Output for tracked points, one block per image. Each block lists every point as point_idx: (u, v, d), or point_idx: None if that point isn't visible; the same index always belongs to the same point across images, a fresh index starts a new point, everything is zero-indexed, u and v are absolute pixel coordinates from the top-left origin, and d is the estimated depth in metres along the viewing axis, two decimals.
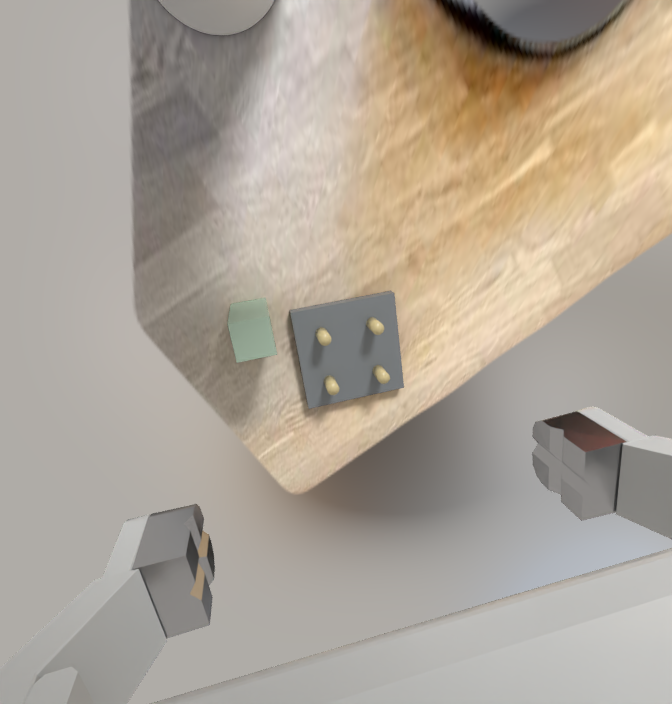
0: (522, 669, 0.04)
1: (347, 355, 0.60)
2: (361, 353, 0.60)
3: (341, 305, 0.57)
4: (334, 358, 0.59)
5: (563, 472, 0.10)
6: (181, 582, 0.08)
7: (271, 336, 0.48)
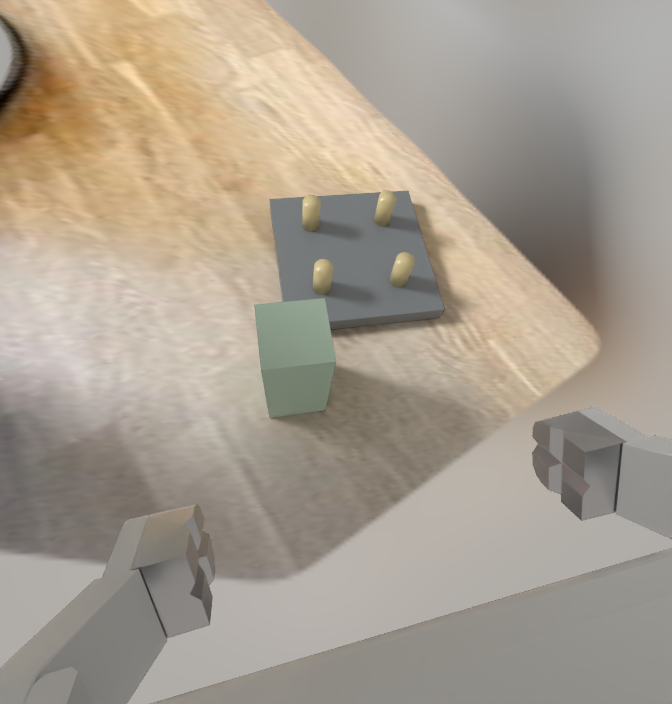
0: (522, 669, 0.04)
1: (358, 255, 0.40)
2: (356, 238, 0.41)
3: (281, 260, 0.39)
4: (362, 271, 0.40)
5: (563, 472, 0.10)
6: (181, 582, 0.08)
7: (291, 303, 0.28)
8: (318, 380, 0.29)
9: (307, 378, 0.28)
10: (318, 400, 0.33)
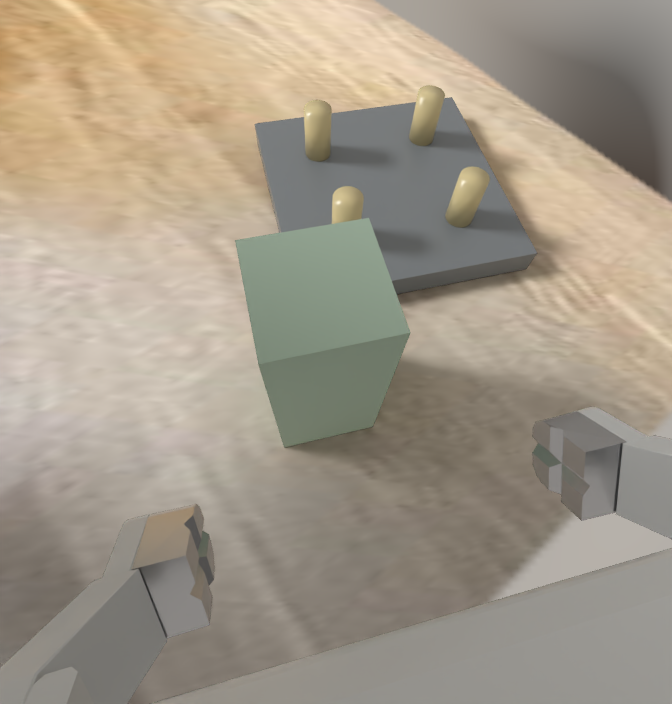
0: (522, 669, 0.04)
1: (393, 188, 0.27)
2: (387, 164, 0.28)
3: (280, 204, 0.26)
4: (404, 209, 0.26)
5: (563, 472, 0.10)
6: (181, 582, 0.08)
7: (306, 233, 0.14)
8: (369, 376, 0.15)
9: (351, 375, 0.15)
10: (363, 412, 0.19)
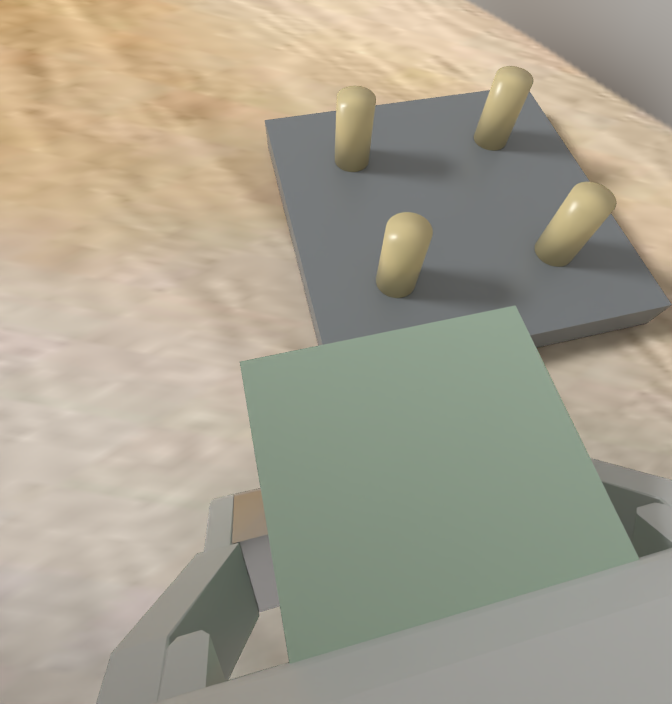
0: (522, 669, 0.04)
1: (458, 209, 0.19)
2: (447, 176, 0.20)
3: (301, 233, 0.18)
4: (476, 240, 0.19)
5: None
6: None
7: (391, 342, 0.07)
8: None
9: None
10: None
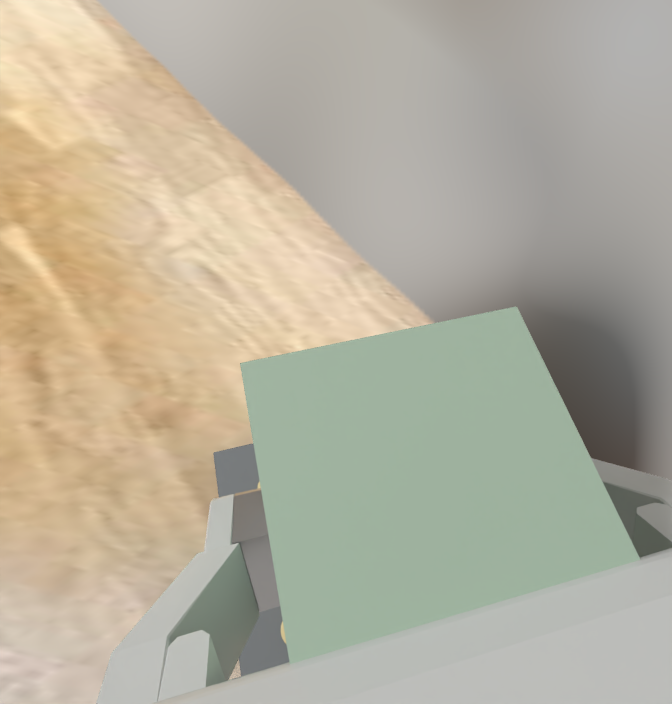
0: (522, 669, 0.04)
1: None
2: None
3: None
4: None
5: None
6: None
7: (391, 344, 0.07)
8: None
9: None
10: None
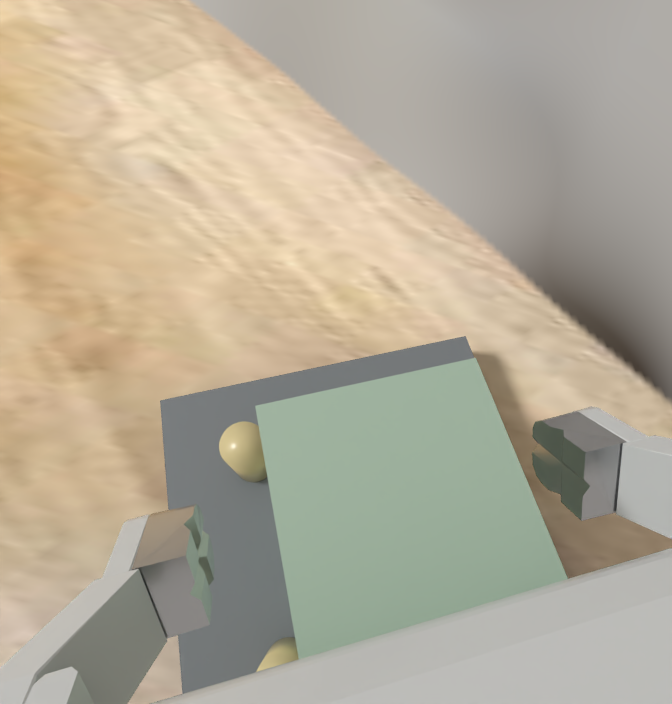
0: (522, 669, 0.04)
1: None
2: None
3: None
4: None
5: (563, 472, 0.10)
6: (181, 582, 0.08)
7: (375, 389, 0.08)
8: None
9: None
10: None
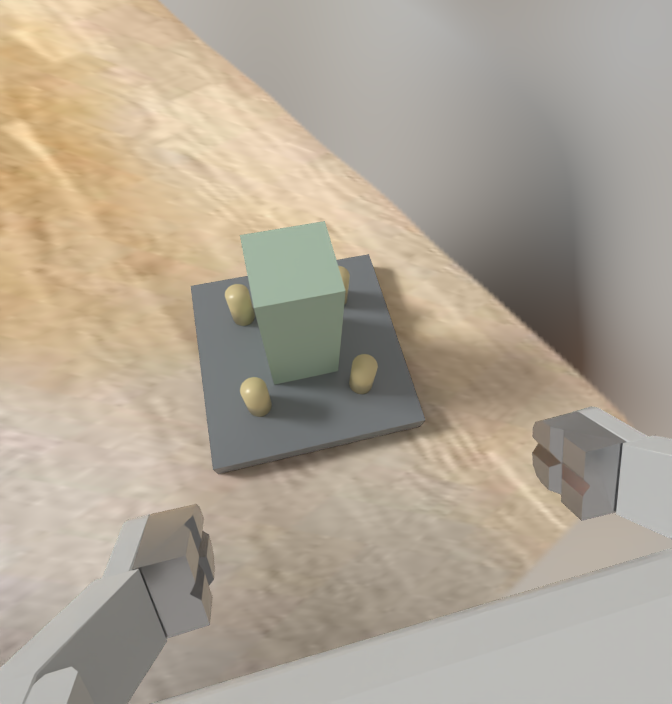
0: (522, 669, 0.04)
1: None
2: None
3: (206, 371, 0.30)
4: (313, 376, 0.30)
5: (563, 472, 0.10)
6: (181, 582, 0.08)
7: (284, 230, 0.23)
8: (326, 322, 0.24)
9: (313, 321, 0.23)
10: (328, 355, 0.28)
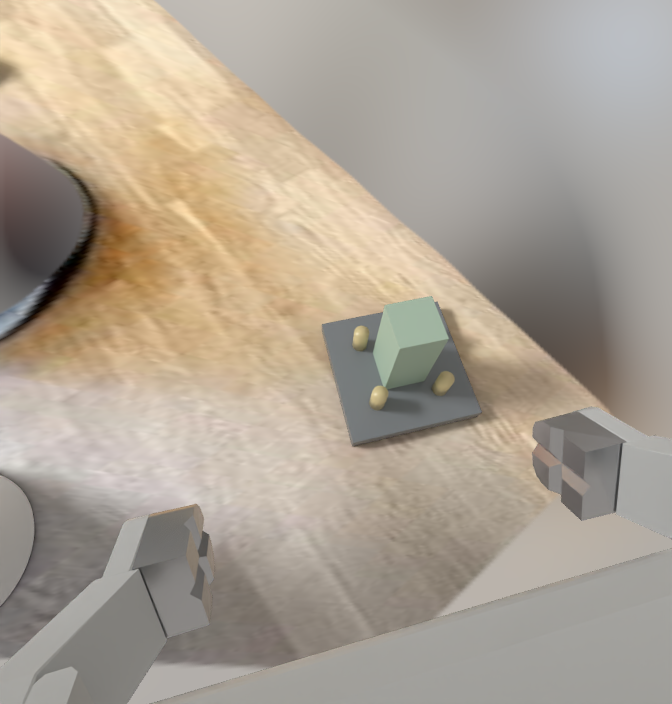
0: (522, 669, 0.04)
1: None
2: None
3: (340, 381, 0.47)
4: None
5: (563, 472, 0.10)
6: (181, 582, 0.08)
7: (409, 302, 0.40)
8: (431, 354, 0.40)
9: (425, 354, 0.40)
10: (423, 371, 0.44)
